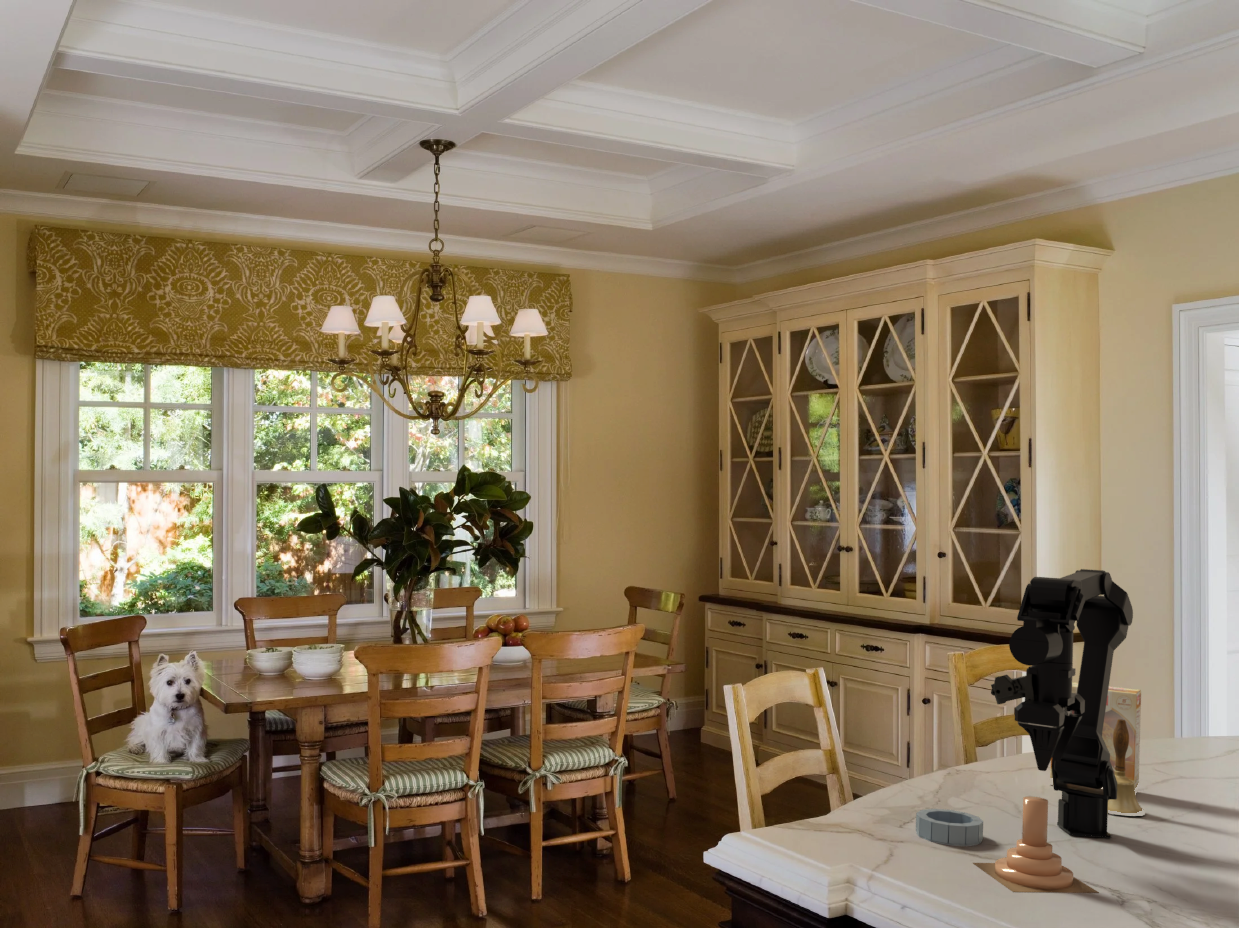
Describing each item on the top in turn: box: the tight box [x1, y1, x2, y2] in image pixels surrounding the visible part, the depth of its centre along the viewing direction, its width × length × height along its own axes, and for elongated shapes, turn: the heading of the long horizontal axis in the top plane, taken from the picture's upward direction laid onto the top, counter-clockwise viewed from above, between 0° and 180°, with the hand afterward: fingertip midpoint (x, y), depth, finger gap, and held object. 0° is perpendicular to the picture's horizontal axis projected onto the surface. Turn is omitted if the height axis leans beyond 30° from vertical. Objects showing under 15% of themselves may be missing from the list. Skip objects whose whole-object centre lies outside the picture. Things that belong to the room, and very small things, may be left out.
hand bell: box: [1108, 719, 1143, 813], centre depth 191 cm, size 8×8×16 cm
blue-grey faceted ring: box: [915, 808, 984, 847], centre depth 167 cm, size 10×10×4 cm
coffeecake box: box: [1049, 681, 1142, 790], centre depth 208 cm, size 15×7×20 cm, turn 58°
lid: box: [994, 796, 1074, 889], centre depth 149 cm, size 10×10×10 cm
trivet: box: [972, 862, 1100, 894], centre depth 149 cm, size 12×12×1 cm
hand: (1049, 765), depth 163 cm, fingers open, 9 cm apart
